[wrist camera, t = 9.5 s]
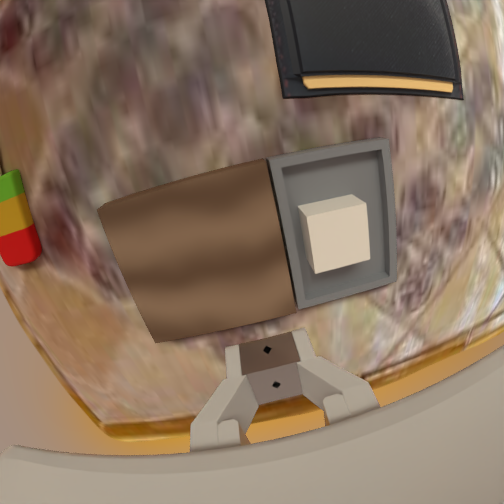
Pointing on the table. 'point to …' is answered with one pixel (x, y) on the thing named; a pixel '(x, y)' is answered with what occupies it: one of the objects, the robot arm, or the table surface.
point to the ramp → (202, 252)
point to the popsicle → (16, 222)
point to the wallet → (365, 47)
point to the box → (331, 186)
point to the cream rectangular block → (335, 232)
